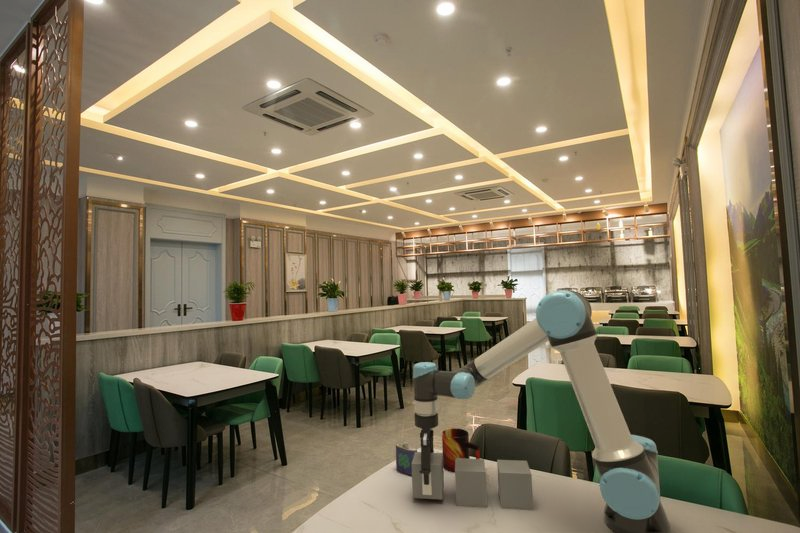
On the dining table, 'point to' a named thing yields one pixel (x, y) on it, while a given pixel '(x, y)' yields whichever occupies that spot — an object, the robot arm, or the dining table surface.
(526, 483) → the pale grey cube
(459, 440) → the mug
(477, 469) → the pale gray cube
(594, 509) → the dining table surface
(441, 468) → the large plain grey block
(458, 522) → the dining table surface
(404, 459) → the flask
